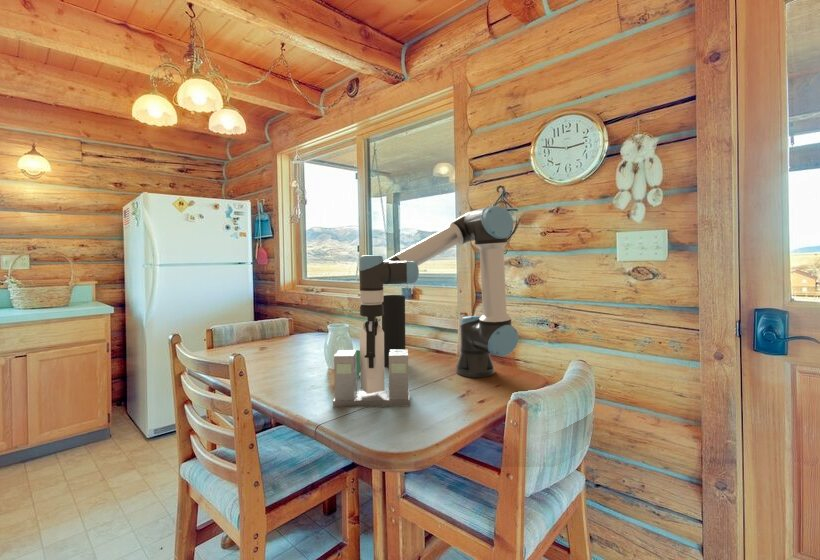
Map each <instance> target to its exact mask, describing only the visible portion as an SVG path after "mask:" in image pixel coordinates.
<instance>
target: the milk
mask: <svg viewBox="0 0 820 560" xmlns="http://www.w3.org/2000/svg"><path fill="white" fill-rule="evenodd" d="M377 321H378V328H377V335H376V336H375V357H376V378H367V358H365V357H364V355H366V327H365V322H363V323H362V328H361V330H359V350H360V374H359V376H360V383H359V384H360V389H361V391H365V392H366V393H367V394H369V393H374V392H379V391H386V390H385V383H386V381H385V379H386V377H385V366H384V332H383V330H382V326H381V321H379V320H377Z"/></svg>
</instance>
